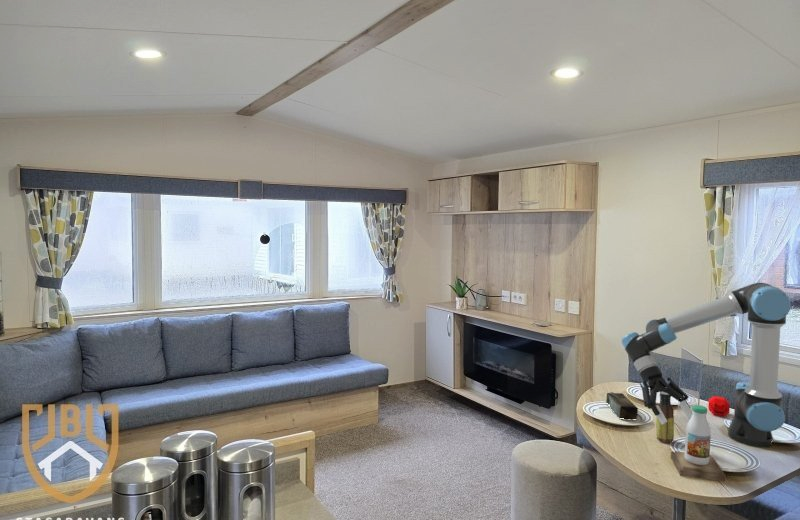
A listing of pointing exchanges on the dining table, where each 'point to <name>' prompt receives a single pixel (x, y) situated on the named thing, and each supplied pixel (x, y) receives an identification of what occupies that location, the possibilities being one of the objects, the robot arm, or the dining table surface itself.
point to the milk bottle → (698, 437)
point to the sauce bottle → (667, 429)
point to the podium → (697, 468)
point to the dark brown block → (622, 406)
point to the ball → (718, 406)
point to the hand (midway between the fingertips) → (678, 420)
